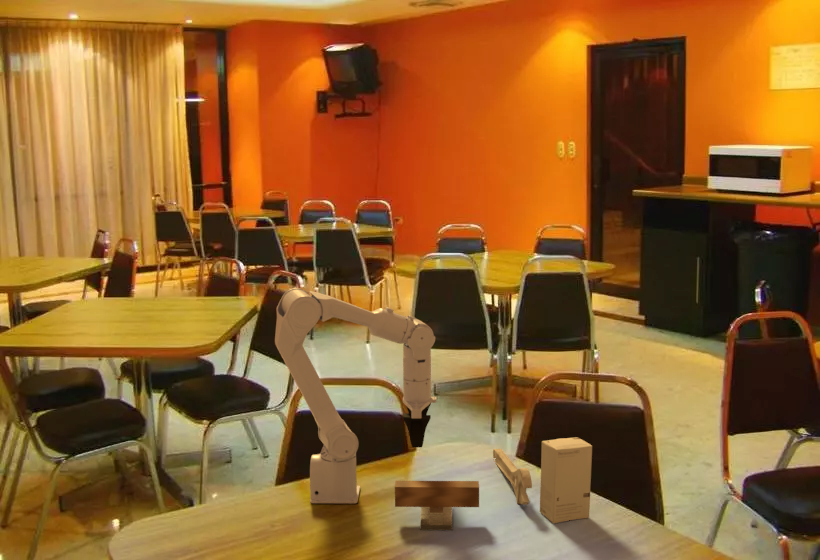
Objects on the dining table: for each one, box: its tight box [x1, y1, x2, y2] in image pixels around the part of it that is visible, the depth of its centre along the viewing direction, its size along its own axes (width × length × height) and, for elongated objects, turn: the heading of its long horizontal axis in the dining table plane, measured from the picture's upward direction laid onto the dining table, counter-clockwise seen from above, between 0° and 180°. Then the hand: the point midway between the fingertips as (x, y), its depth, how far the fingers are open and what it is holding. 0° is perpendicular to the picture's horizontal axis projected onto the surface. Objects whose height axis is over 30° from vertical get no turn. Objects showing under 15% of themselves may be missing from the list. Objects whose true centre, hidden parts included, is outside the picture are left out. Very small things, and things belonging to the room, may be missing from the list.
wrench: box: [492, 448, 533, 506], centre depth 189 cm, size 8×2×30 cm
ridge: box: [419, 507, 453, 531], centre depth 173 cm, size 6×8×4 cm
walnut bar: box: [394, 480, 480, 508], centre depth 172 cm, size 16×3×4 cm, turn 88°
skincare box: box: [539, 436, 593, 525], centre depth 174 cm, size 8×6×15 cm
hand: (417, 440), depth 188 cm, fingers open, 7 cm apart
